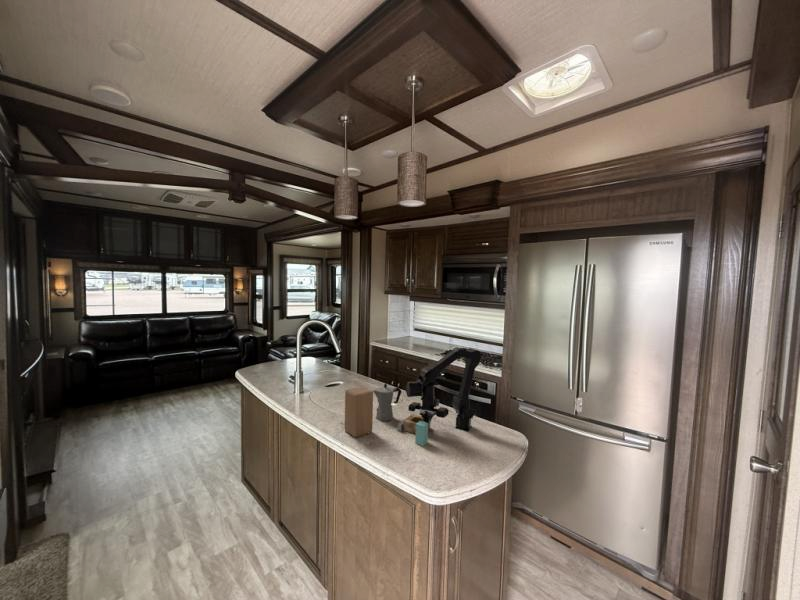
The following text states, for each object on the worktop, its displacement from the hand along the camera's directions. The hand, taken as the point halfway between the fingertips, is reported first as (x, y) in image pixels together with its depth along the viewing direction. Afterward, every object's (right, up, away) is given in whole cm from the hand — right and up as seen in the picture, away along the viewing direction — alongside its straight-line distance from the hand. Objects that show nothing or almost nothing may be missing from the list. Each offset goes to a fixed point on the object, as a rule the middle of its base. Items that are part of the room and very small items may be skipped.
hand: (428, 427), depth 151 cm
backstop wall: (-10, -2, +6) cm, 12 cm away
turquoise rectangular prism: (-4, -3, -10) cm, 12 cm away
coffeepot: (-20, -2, +16) cm, 26 cm away
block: (-33, -2, -1) cm, 33 cm away
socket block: (-5, -2, +3) cm, 6 cm away
